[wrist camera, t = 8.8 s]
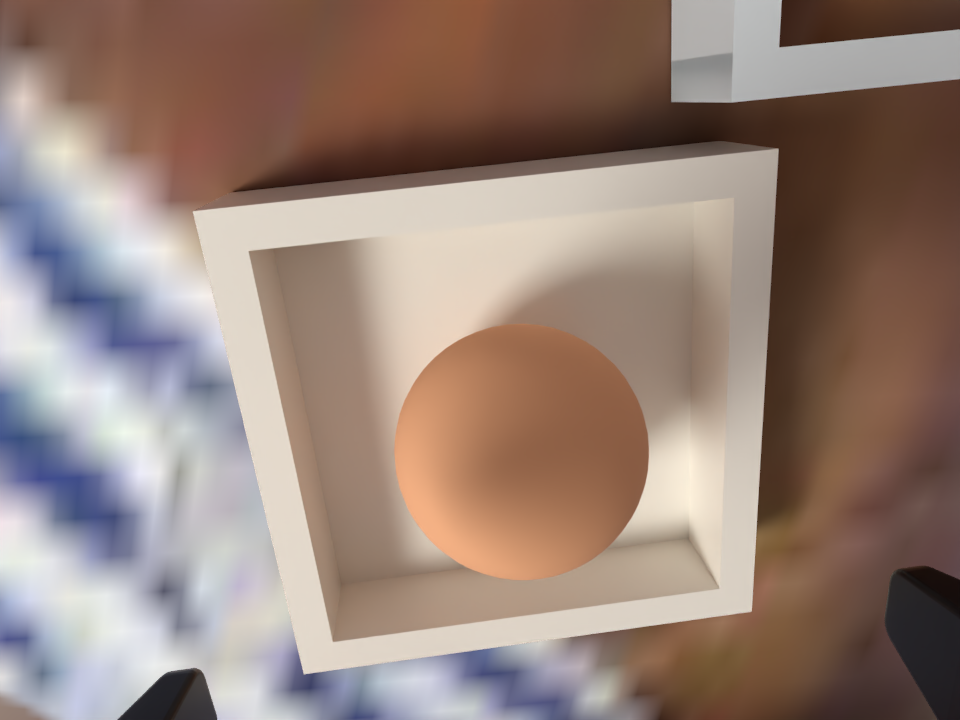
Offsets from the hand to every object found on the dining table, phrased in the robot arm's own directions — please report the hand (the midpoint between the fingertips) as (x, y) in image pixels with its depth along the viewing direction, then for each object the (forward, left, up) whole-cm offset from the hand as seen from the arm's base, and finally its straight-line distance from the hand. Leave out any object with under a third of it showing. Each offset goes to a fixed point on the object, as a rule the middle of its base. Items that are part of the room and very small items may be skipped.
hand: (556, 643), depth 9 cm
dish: (0, 0, -8) cm, 8 cm away
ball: (0, 0, -8) cm, 8 cm away
